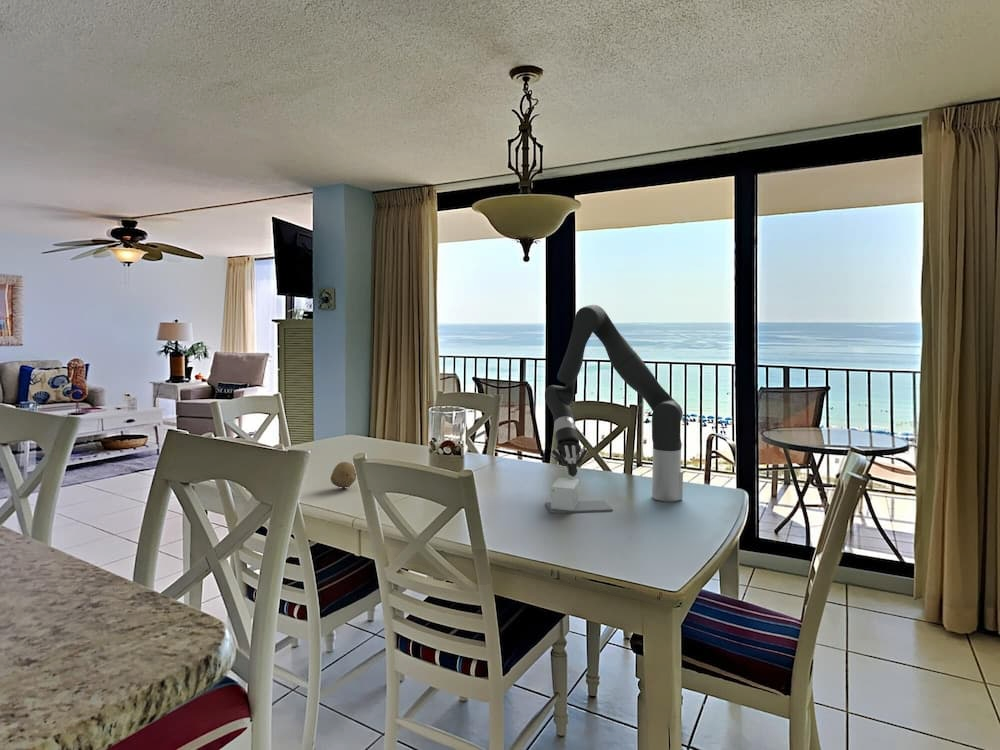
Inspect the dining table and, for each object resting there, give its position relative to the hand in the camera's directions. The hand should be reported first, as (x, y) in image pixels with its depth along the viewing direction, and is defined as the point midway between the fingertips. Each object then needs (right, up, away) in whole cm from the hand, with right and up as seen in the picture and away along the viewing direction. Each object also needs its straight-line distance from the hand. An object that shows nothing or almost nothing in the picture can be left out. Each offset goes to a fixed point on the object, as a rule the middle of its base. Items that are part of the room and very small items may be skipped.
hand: (573, 475), depth 201 cm
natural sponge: (-81, -8, +18) cm, 83 cm away
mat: (+1, -9, -6) cm, 11 cm away
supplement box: (-1, -5, +1) cm, 5 cm away
